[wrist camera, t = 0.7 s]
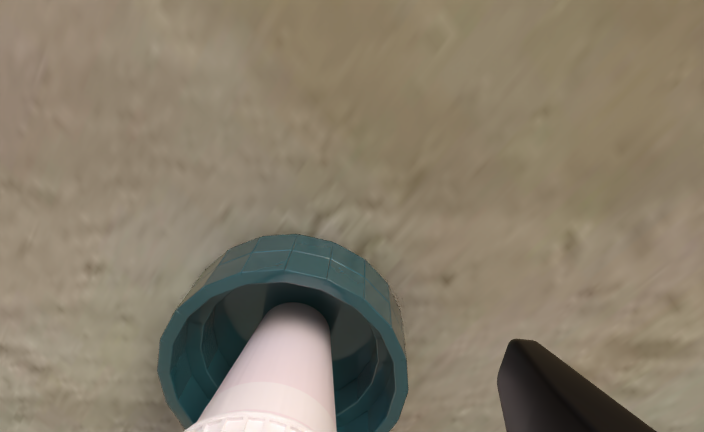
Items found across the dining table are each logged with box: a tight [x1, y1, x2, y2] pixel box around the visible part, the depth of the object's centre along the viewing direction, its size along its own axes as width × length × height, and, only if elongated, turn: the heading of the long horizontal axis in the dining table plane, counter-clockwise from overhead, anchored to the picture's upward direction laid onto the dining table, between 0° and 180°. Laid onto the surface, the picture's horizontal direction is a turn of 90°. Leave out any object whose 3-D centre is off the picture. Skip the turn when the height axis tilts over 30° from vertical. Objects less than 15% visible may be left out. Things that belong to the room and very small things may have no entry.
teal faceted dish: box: [157, 234, 408, 432], centre depth 22 cm, size 11×11×4 cm
